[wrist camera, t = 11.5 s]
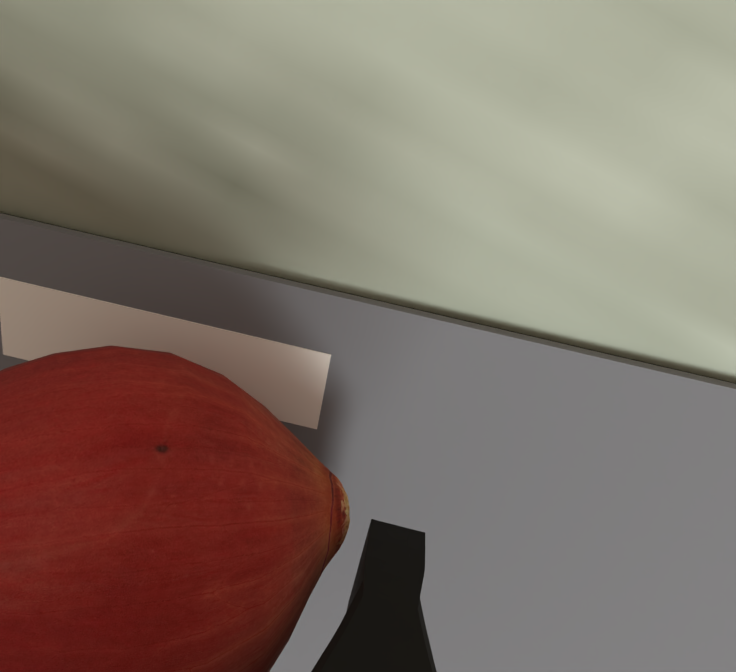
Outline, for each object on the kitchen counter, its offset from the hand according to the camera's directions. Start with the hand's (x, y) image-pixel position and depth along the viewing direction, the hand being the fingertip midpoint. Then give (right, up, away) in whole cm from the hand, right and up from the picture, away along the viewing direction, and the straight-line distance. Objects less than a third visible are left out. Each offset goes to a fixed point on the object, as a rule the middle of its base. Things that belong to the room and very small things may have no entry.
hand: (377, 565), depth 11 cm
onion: (0, +1, 0) cm, 1 cm away
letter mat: (0, -1, +3) cm, 3 cm away
